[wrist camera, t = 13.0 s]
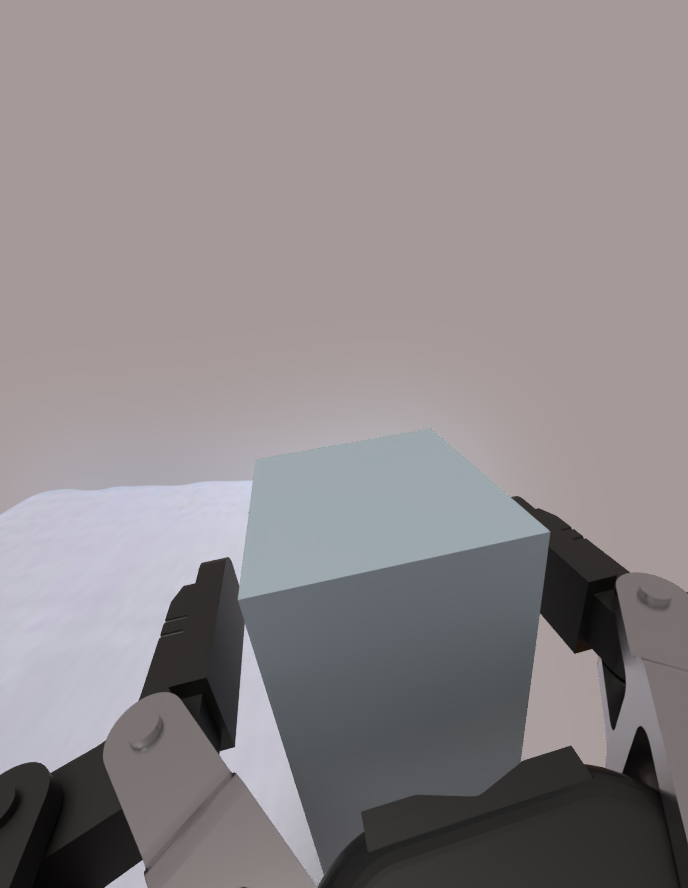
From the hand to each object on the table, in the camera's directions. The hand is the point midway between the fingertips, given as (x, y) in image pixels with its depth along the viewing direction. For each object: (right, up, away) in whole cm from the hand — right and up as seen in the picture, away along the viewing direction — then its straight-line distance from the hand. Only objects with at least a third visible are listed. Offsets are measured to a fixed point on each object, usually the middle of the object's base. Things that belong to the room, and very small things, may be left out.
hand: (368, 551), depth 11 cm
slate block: (+1, -8, +1) cm, 8 cm away
